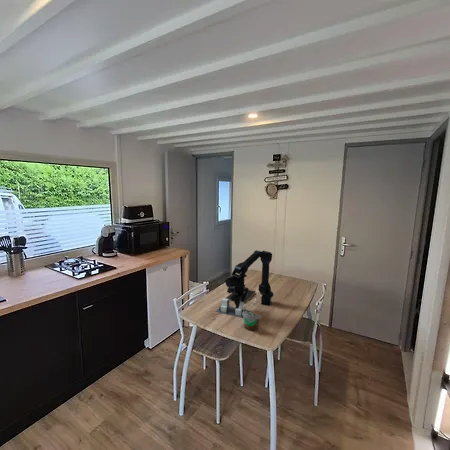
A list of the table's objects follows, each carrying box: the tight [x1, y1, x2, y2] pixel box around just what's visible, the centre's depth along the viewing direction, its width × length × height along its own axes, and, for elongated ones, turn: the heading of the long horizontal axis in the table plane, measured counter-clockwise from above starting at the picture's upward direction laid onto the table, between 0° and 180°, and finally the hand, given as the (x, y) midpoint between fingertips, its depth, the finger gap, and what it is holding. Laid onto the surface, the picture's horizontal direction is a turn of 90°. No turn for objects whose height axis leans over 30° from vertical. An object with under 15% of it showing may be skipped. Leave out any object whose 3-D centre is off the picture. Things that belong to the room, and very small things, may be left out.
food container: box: [242, 307, 261, 332], centre depth 155 cm, size 12×6×10 cm, turn 44°
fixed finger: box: [220, 297, 231, 312], centre depth 178 cm, size 5×7×8 cm
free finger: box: [235, 302, 245, 315], centre depth 174 cm, size 5×7×8 cm
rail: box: [214, 304, 252, 319], centre depth 176 cm, size 22×12×3 cm, turn 65°
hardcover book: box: [225, 289, 256, 304], centre depth 202 cm, size 16×23×2 cm
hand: (239, 305), depth 174 cm, fingers open, 9 cm apart
